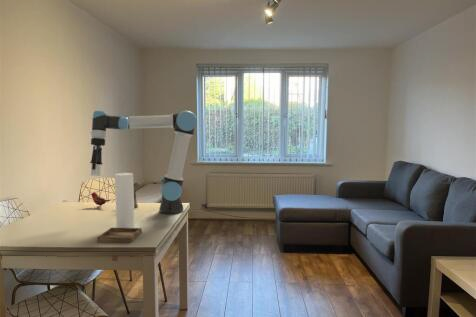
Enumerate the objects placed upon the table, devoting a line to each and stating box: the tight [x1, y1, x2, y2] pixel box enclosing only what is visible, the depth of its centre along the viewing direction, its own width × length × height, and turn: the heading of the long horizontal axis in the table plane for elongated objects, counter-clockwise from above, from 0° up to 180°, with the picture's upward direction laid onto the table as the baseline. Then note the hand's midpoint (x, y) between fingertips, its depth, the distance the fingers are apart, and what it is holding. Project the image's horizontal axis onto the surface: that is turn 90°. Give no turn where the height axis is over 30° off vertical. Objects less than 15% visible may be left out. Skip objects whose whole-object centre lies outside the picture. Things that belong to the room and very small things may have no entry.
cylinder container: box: [114, 172, 136, 228], centre depth 197 cm, size 9×9×30 cm
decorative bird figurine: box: [91, 191, 111, 208], centre depth 245 cm, size 3×18×10 cm, turn 65°
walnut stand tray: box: [97, 227, 143, 244], centre depth 182 cm, size 16×16×2 cm
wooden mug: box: [133, 182, 140, 209], centre depth 243 cm, size 9×14×18 cm, turn 42°
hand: (95, 175), depth 207 cm, fingers open, 13 cm apart
